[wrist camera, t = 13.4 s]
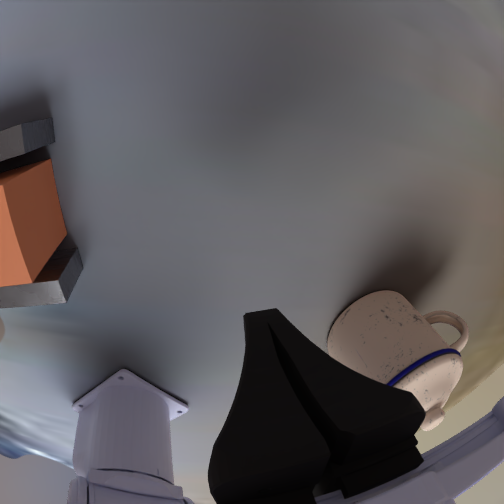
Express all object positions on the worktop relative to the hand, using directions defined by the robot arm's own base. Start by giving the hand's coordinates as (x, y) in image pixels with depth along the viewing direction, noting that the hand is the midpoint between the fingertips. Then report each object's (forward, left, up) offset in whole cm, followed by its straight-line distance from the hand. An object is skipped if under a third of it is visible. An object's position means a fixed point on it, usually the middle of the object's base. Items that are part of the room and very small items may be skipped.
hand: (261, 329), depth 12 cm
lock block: (-9, +12, -9) cm, 18 cm away
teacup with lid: (+5, -16, -9) cm, 19 cm away
